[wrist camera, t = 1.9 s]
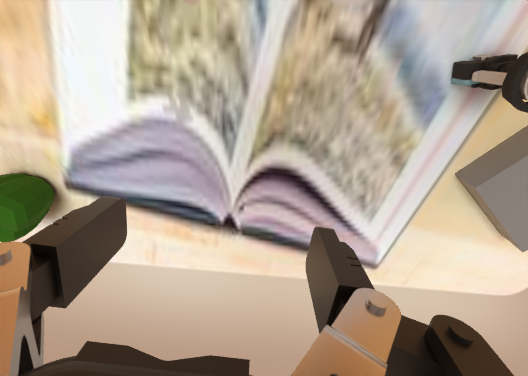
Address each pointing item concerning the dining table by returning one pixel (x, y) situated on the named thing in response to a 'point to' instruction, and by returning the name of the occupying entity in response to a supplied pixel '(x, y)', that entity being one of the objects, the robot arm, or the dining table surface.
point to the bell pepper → (22, 204)
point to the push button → (497, 76)
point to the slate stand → (502, 187)
